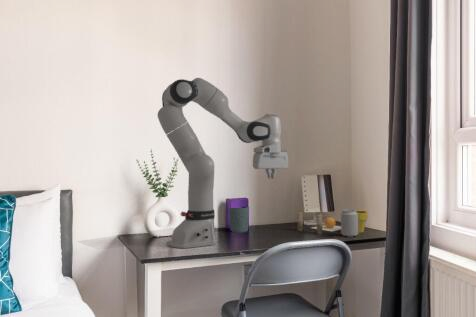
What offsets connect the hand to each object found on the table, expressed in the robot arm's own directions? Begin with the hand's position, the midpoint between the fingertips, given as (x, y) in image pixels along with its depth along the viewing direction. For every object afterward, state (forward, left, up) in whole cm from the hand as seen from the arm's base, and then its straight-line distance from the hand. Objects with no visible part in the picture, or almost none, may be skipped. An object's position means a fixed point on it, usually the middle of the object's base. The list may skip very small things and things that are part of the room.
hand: (270, 178), depth 221 cm
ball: (+33, -8, -24) cm, 41 cm away
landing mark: (+33, -8, -27) cm, 43 cm away
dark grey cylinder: (-4, +19, -27) cm, 33 cm away
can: (+24, -27, -27) cm, 45 cm away
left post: (+18, -1, -27) cm, 32 cm away
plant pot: (+35, -23, -27) cm, 50 cm away
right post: (+18, -14, -27) cm, 35 cm away
